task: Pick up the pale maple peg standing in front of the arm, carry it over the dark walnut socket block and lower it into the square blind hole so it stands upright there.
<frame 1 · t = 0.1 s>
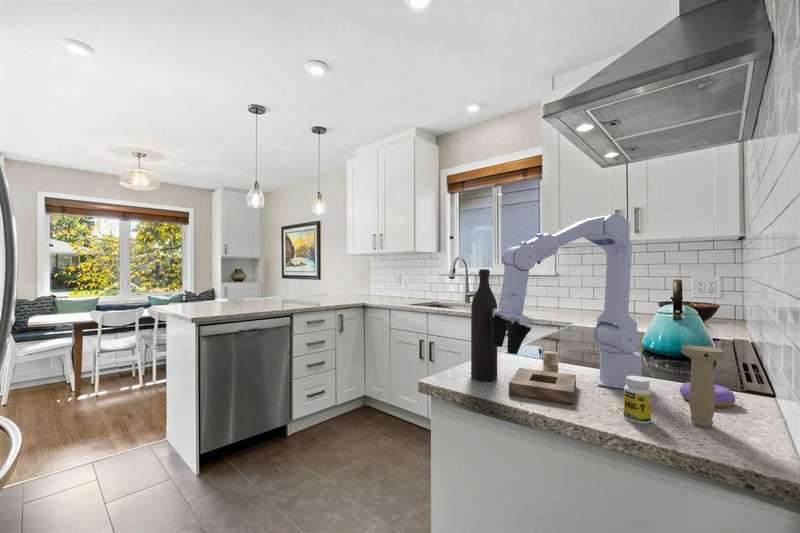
hand: (504, 349, 91), 11 cm above the counter, tool pointing down, fingers open, 7 cm apart
handle: (701, 425, 74), on the counter
peg: (550, 373, 107), on the counter
socket block: (543, 390, 93), on the counter
wine bottle: (484, 378, 103), on the counter
supplement bottle: (637, 420, 76), on the counter
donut: (706, 402, 86), on the counter
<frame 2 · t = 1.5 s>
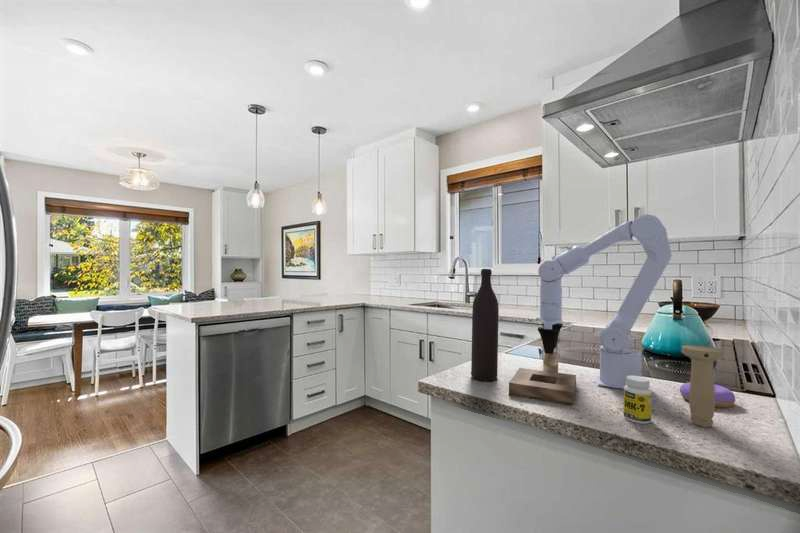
hand: (550, 350, 107), 7 cm above the counter, tool pointing down, fingers open, 7 cm apart
nothing on the counter moved.
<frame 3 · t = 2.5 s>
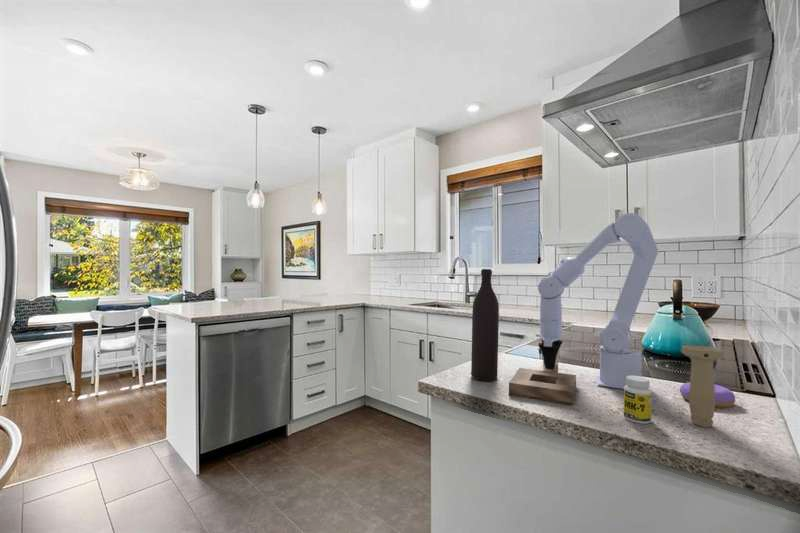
hand: (550, 366, 107), 2 cm above the counter, tool pointing down, fingers closed on peg, 4 cm apart
peg: (550, 373, 107), on the counter, touching gripper
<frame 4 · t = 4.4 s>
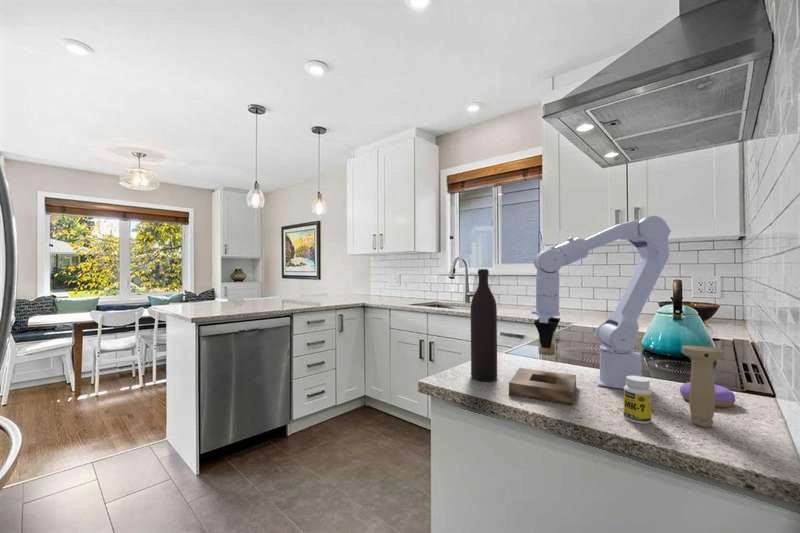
hand: (547, 346, 100), 9 cm above the counter, tool pointing down, fingers closed on peg, 4 cm apart
peg: (546, 353, 100), point 7 cm above the counter, touching gripper
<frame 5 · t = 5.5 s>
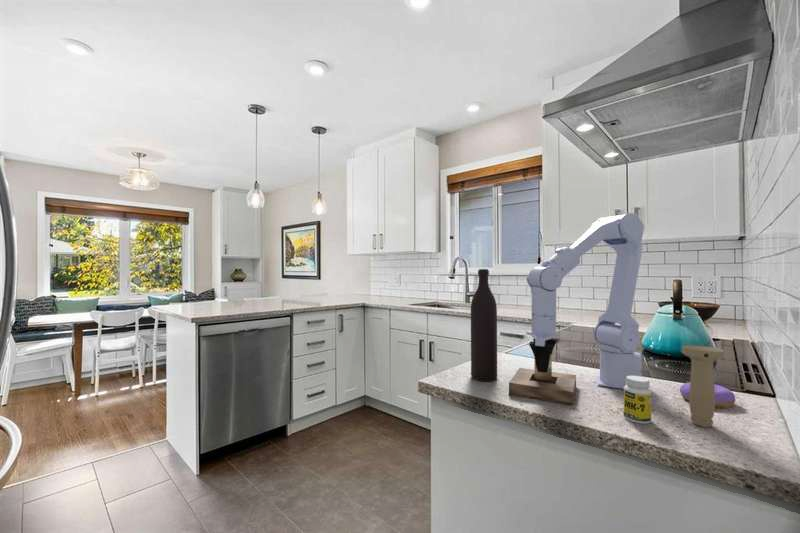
hand: (543, 369, 93), 5 cm above the counter, tool pointing down, fingers closed on peg, 4 cm apart
peg: (543, 377, 93), point 3 cm above the counter, touching gripper
everything else where it was.
when the fingers open (4 cm above the counter, at t = 6.2 s): peg drops 1 cm, resting on socket block.
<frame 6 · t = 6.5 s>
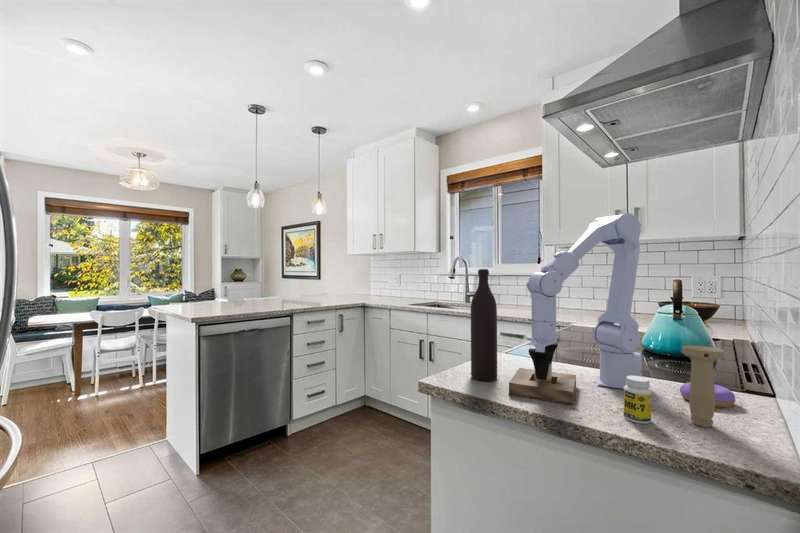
hand: (543, 375, 93), 4 cm above the counter, tool pointing down, fingers open, 7 cm apart
peg: (543, 388, 93), point 1 cm above the counter, touching socket block
everything else where it was.
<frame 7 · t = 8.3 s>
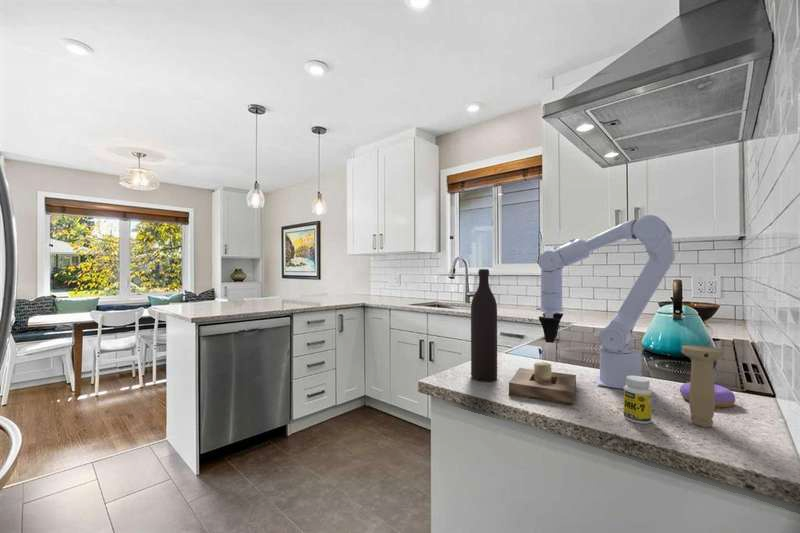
hand: (551, 339, 108), 9 cm above the counter, tool pointing down, fingers open, 7 cm apart
nothing on the counter moved.
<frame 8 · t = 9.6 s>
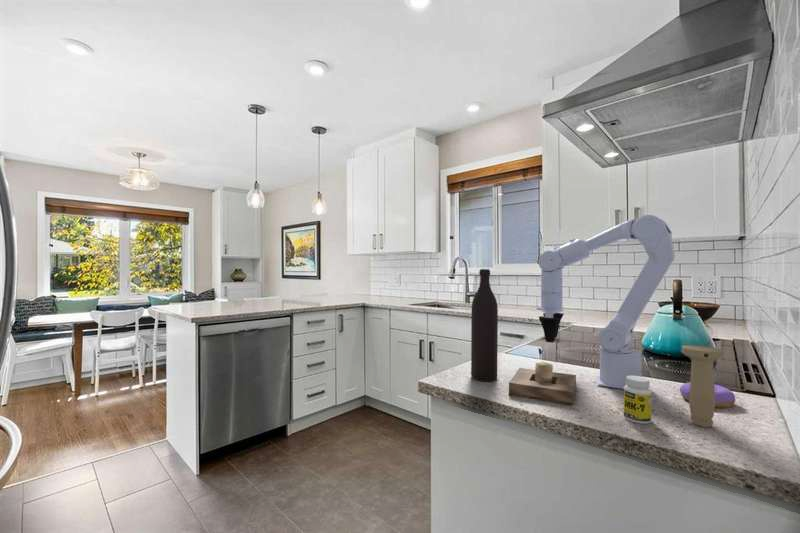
hand: (551, 339, 109), 9 cm above the counter, tool pointing down, fingers open, 7 cm apart
nothing on the counter moved.
at the end: peg 0.1 cm off-centre on the socket block, point 0.6 cm above the socket block's base; peg tilted 3°; the gripper is holding nothing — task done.
